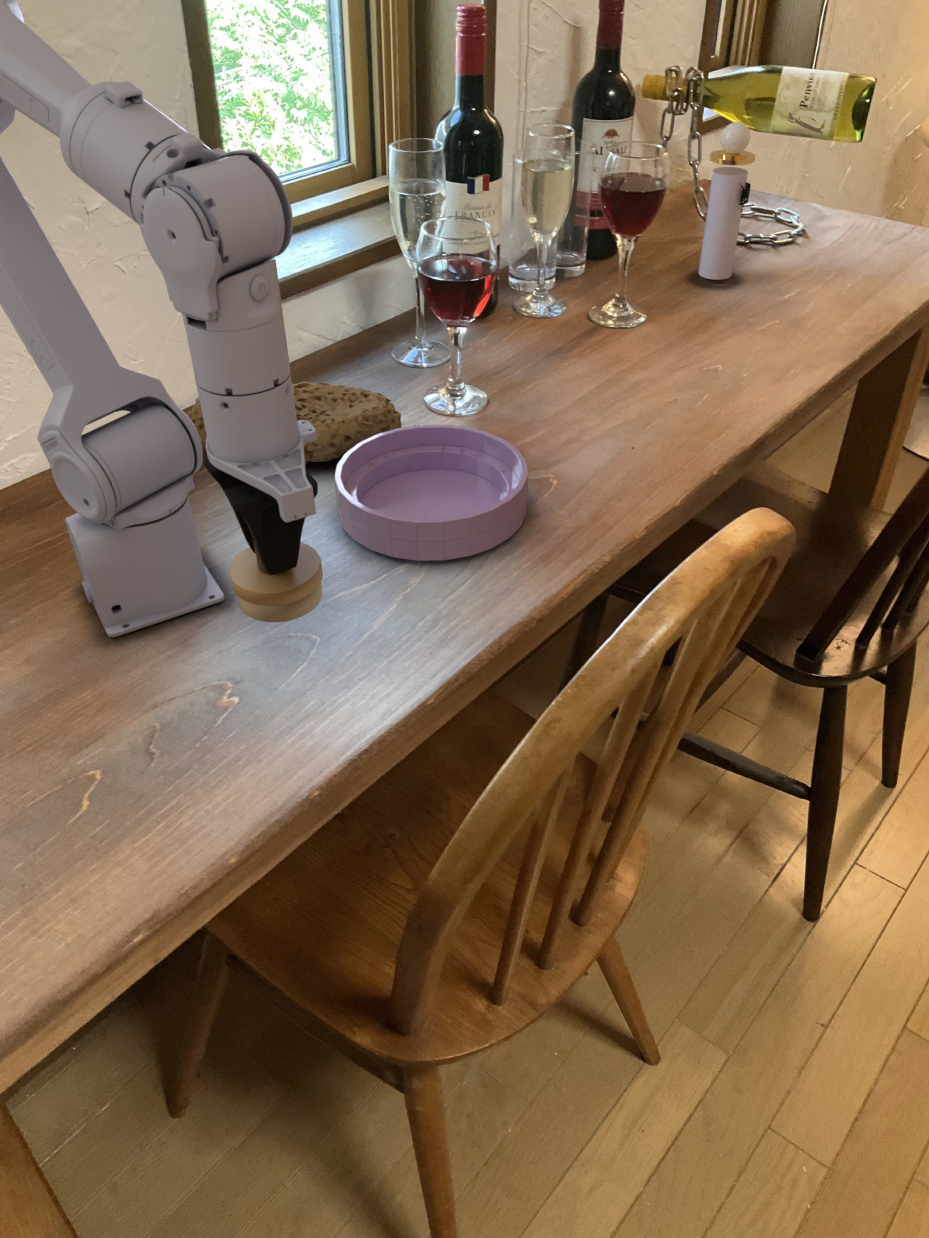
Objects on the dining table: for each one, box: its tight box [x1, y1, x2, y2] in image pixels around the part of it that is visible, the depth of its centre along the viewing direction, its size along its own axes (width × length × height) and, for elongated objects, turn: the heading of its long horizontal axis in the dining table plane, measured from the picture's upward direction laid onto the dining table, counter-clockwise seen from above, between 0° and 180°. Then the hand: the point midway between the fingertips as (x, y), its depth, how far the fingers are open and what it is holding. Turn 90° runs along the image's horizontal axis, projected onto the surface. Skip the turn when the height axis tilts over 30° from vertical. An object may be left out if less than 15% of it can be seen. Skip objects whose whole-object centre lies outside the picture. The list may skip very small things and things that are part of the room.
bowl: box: [333, 424, 529, 562], centre depth 87 cm, size 17×17×4 cm
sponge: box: [186, 381, 403, 465], centre depth 96 cm, size 13×8×20 cm
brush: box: [228, 541, 324, 623], centre depth 67 cm, size 6×6×7 cm
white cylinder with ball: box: [697, 121, 756, 281], centre depth 128 cm, size 6×6×20 cm
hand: (273, 558), depth 67 cm, fingers closed on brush, 2 cm apart
